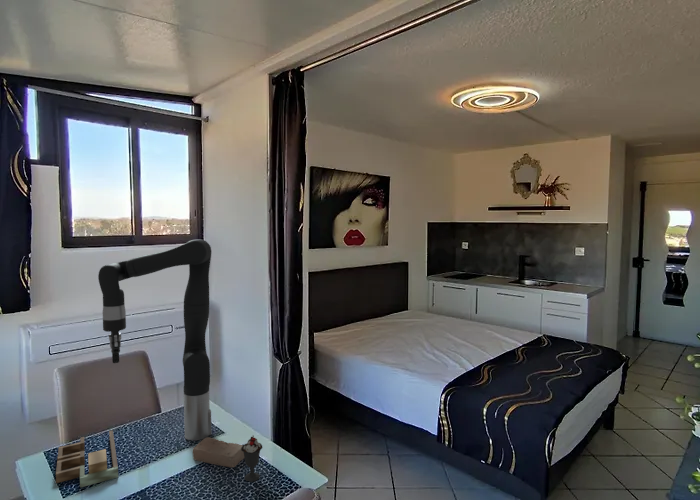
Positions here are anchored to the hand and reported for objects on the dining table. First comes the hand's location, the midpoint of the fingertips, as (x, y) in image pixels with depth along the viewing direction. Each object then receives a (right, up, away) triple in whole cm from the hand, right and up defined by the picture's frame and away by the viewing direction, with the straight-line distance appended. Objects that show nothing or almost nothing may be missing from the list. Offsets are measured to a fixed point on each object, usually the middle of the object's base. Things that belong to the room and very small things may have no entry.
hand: (115, 362), depth 161 cm
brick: (+42, -31, -11) cm, 54 cm away
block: (+6, -31, -21) cm, 38 cm away
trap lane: (-1, -30, -15) cm, 34 cm away
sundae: (+56, -32, -22) cm, 68 cm away
